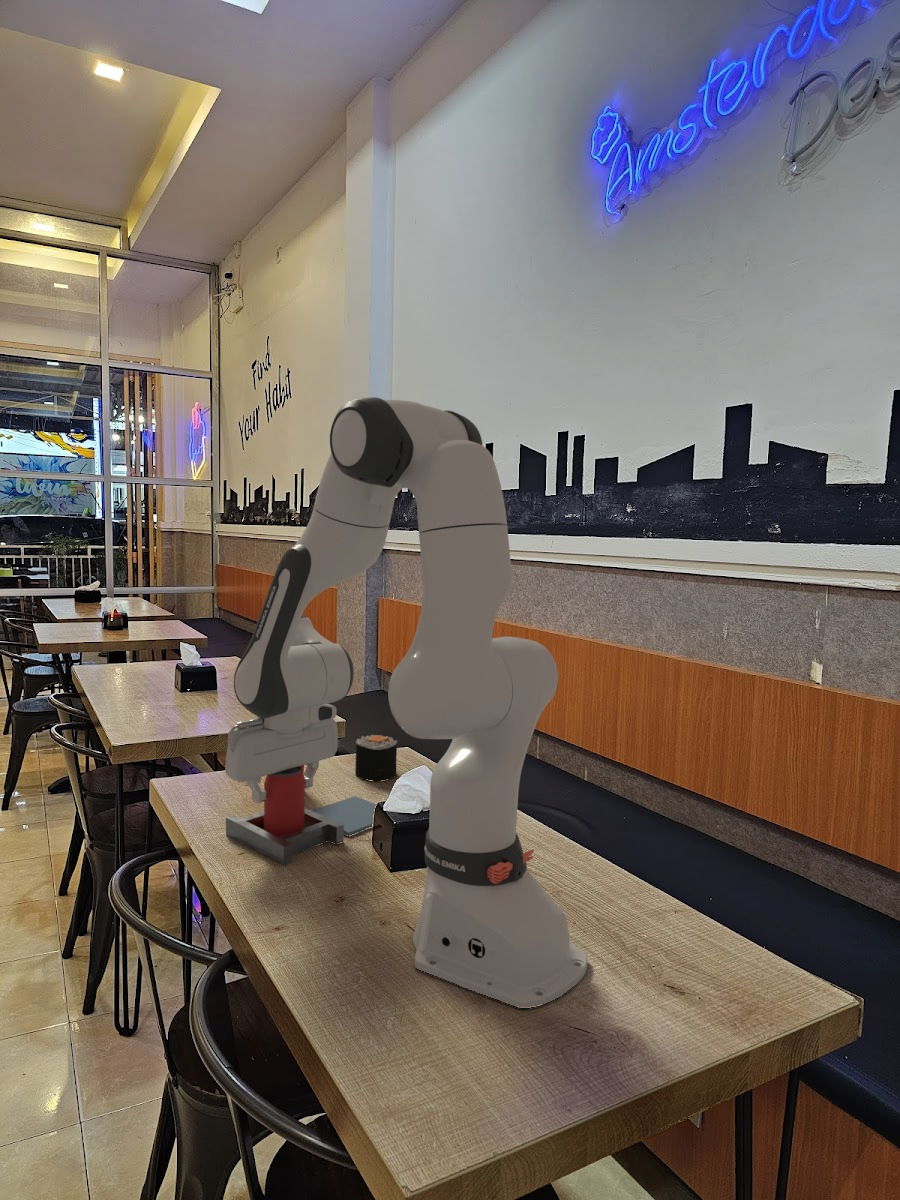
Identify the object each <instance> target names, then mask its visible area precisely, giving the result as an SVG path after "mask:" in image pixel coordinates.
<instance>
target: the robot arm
mask: <svg viewBox="0 0 900 1200" xmlns="http://www.w3.org/2000/svg"><path fill="white" fill-rule="evenodd" d="M329 431H330V433H329V445H330V446H329V448H330V454H329V457H328V460H327V462H326V464H325V467H324V469H323V471H322V475H321V478H320V480H319V484H318V488H317V491H316V495H315V501H314V505H313V509H312V513H311V515H310V518H309V519H310V520H309V521H308V523H307V525H306V528H305V529H304V531H303V533H302V534H301V536H300V538H299V539H298V540H297V541H296V543H294V545H293V546H291V548H289V549H288V550H286V551H285V553H284V554H283V556H282V557H281V559H280V560H279V563H278V565H277V568H276V571H275V573H274V575H273V578H272V580H271V583H270V585H269V589H268V592H267V594H266V597H265V599H264V602H263V605H262V608H261V611H260V614H259V616H258V620H257V621H256V625H255V628H254V631H253V634H252V636H251V639H250V641H249V643H248V646H247V648H246V650H245V651H244V653H243V655H241V656H242V657H241V658H240V659H239V662H238V664H237V666H236V669H235V671H234V676H233V689H234V693H235V694H234V695H235V696H236V697H235V698H236V699H237V700H238V702H239V703H240V704H241V706H243V708H244V709H245V710H246V711H248V712H250V713H251V714H253V715H255V716H256V718H252V719H249V720H246V721H245V720H244V721H242V720H241V721H237V722H236V724H235V725H234V726H233V727H231V729H230V730H229V731H228V734H227V750H226V757H225V764H224V765H225V769H224V771H225V774H226V775H227V777H229V779H232V780H233V781H235V782H238V783H243V782H246V784H247V785H248V787H249V789H250V790H251V796H252V797H251V799H252V802H254V803H256V804H259V803H262V802H263V803H264V801H266V797H265V796H266V791H265V790H264V789H262V788H261V787H260V785H259V784H260V783H261V782H262V777H264V776H267V775H269V774H273V773H276V772H280V771H284V770H287V769H291V768H295V767H298V766H302V765H304V766H306V768H305V769H304V774H303V775H304V779H305V790H306V789H309V788H312V787H313V785H314V777H315V775H316V772H317V771H318V769H319V767H320V766H319V765H320V761H324V760H327V759H330V758H333V757H335V755H336V753H337V751H338V747H339V746H338V745H339V744H338V743H339V742H338V741H339V740H338V739H339V738H338V737H339V735H338V733H339V732H338V725H337V724H338V723H337V721H336V720H335V718H336V716H337V711H338V710H337V707H336V706H335V705H333V704H331V703H335V702H338V701H341V700H344V699H345V697H346V696H347V695H348V694H349V692H350V690H351V688H352V685H353V682H354V675H355V674H354V664H353V660H352V658H351V656H350V654H349V653H348V651H347V650H346V649H345V648H344V647H343V646H341V645H340V644H339V643H335V642H332V641H330V640H328V639H327V638H326V637H324V636H322V634H320V633H319V632H318V631H317V630H316V629H315V628H314V624H313V623H312V621H311V619H310V618H309V617H308V616H305V615H303V613H304V611H305V610H306V608H307V606H308V605H309V604H310V602H311V601H312V600H314V598H315V597H317V596H318V595H319V594H321V593H323V592H324V591H325V590H327V589H329V588H331V587H334V586H335V585H337V584H339V583H342V582H343V581H346V580H349V579H351V578H355V577H356V576H358V575H361V574H362V573H364V572H365V571H366V570H368V569H370V568H371V567H372V566H373V565H374V564H375V563H376V562H377V560H378V559H379V557H380V555H381V554H382V551H383V549H384V546H385V544H386V540H387V536H388V532H389V528H390V523H391V519H392V514H393V509H394V503H395V500H396V497H397V495H398V494H399V493H400V492H401V490H403V489H407V490H409V492H410V493H411V494H412V495H413V497H414V499H415V504H416V510H417V525H418V537H419V547H420V548H419V549H420V562H421V563H420V564H421V576H422V577H421V578H422V598H421V601H422V602H421V608H420V613H419V617H418V618H419V620H418V623H417V626H416V630H415V633H414V636H413V640H412V641H411V645H410V647H409V648H408V650H407V652H406V654H405V655H404V656H403V658H402V659H401V660H400V661H399V663H398V664H397V665H396V667H395V668H394V669H393V671H392V673H391V676H390V679H389V683H388V690H387V691H388V692H387V693H388V695H387V696H388V697H387V698H388V704H389V708H390V711H391V714H392V717H393V718H394V720H395V722H396V724H398V726H399V727H400V728H401V729H402V731H404V732H405V734H408V735H409V736H411V737H413V738H416V739H420V740H422V739H423V740H452V741H451V742H450V745H449V747H447V748H448V749H447V750H446V752H445V753H444V755H443V756H442V757H441V758H440V759H439V761H438V762H437V764H436V765H435V767H434V768H433V771H432V774H431V777H430V787H429V788H430V789H429V790H430V792H429V821H428V823H429V824H428V825H429V827H428V830H426V833H425V845H424V862H425V865H426V874H425V875H426V878H425V885H424V892H423V897H422V902H421V907H420V913H419V917H418V919H417V920H418V921H417V923H416V927H415V929H414V932H413V936H412V940H413V941H412V942H413V945H414V948H415V951H416V952H415V955H414V963H413V966H414V965H415V966H414V968H415V969H416V968H417V969H419V970H421V971H420V972H422V971H424V972H423V973H425V972H427V973H429V974H428V975H430V974H432V975H434V976H433V977H435V976H438V977H439V978H438V977H437V978H438V979H440V978H443V979H446V980H448V981H450V982H449V983H451V982H453V983H455V984H454V985H456V984H457V985H456V986H458V985H459V987H461V988H464V989H466V988H467V990H470V991H471V990H472V991H471V992H474V991H475V992H474V993H477V994H479V993H480V994H479V995H482V994H483V995H482V996H484V995H486V996H485V997H487V996H488V998H490V997H491V998H490V999H492V998H495V999H498V1000H501V1001H503V1002H507V1003H509V1004H512V1005H514V1006H519V1007H530V1006H531V1007H532V1006H537V1005H540V1004H544V1003H547V1002H549V1001H552V1000H554V1001H556V1000H557V999H556V998H558V997H560V996H561V997H563V996H564V995H565V994H564V993H566V992H567V991H568V990H570V989H571V988H572V987H573V986H574V987H576V986H577V985H578V984H579V983H580V982H581V980H582V979H583V978H584V977H585V975H586V973H587V970H588V955H587V953H586V952H585V951H583V950H582V949H580V948H579V947H578V946H576V945H574V944H573V943H572V942H570V933H569V932H570V931H569V925H568V921H567V916H566V914H565V913H564V911H563V910H562V908H561V907H559V905H558V904H557V903H556V902H555V901H554V900H553V899H552V897H551V895H549V894H548V893H547V892H546V890H545V889H544V888H543V887H542V886H541V885H540V883H539V881H537V880H536V879H535V877H534V876H533V875H532V874H531V873H530V871H528V869H527V868H528V867H527V862H529V861H531V860H532V859H534V855H532V854H533V853H534V851H535V849H529V850H528V851H526V852H524V851H523V847H522V845H521V844H522V843H521V841H520V837H519V835H518V833H517V821H518V820H517V819H518V807H519V790H520V781H521V775H522V770H523V766H524V762H525V758H526V756H527V752H528V750H529V747H530V743H531V740H532V736H533V734H534V731H535V728H536V726H537V723H538V721H539V719H540V717H541V714H542V713H543V712H544V710H545V708H546V707H547V706H548V704H549V703H550V702H551V700H552V699H553V697H554V696H555V694H556V692H557V689H558V682H559V671H558V667H557V664H556V661H555V659H554V657H553V655H552V654H551V652H550V651H549V650H548V648H547V647H545V646H544V645H543V644H541V643H540V642H538V641H535V640H533V639H532V640H531V639H528V638H522V637H517V636H499V637H494V638H493V634H494V633H493V632H494V626H495V622H496V618H497V615H498V613H499V610H500V608H501V606H502V604H503V603H504V602H505V601H506V599H508V597H509V595H510V594H511V591H512V588H513V573H512V562H511V552H510V542H509V541H510V540H509V531H508V521H507V512H506V506H505V500H504V499H505V498H504V494H503V490H502V485H501V481H500V477H499V473H498V470H497V466H496V463H495V460H494V458H493V457H494V456H493V455H492V454H491V452H490V451H489V449H488V448H486V447H485V446H484V445H483V439H482V435H481V434H480V433H481V432H480V431H479V429H478V427H477V426H476V425H475V424H474V423H473V422H472V421H471V420H470V419H468V418H467V417H466V416H464V415H461V414H459V413H457V412H455V411H453V410H444V409H439V408H436V407H432V406H429V405H424V404H421V403H419V402H416V401H409V400H400V399H383V398H380V397H376V396H375V397H372V396H371V397H361V398H360V397H359V398H356V399H352V400H350V401H347V402H346V403H345V404H343V405H342V406H341V407H340V408H339V410H338V411H337V413H336V415H335V416H334V419H333V421H332V424H331V429H330V430H329ZM417 969H416V970H417ZM419 970H418V971H419ZM427 973H426V974H427ZM432 975H431V976H432ZM443 979H442V980H443ZM448 981H447V982H448ZM578 982H579V983H578ZM453 983H452V984H453ZM577 983H578V984H577ZM576 984H577V985H576ZM575 985H576V986H575ZM574 987H573V988H574ZM573 988H572V989H573ZM572 989H571V990H572ZM571 990H570V991H571ZM568 992H569V991H568ZM568 992H567V993H568ZM567 993H566V994H567ZM563 994H564V995H563ZM562 995H563V996H562ZM561 997H560V998H561ZM495 999H494V1000H495ZM555 999H556V1000H555ZM558 999H559V998H558ZM503 1002H502V1003H503ZM552 1002H553V1001H552Z"/></svg>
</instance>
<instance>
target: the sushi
mask: <svg viewBox="0 0 900 1200" xmlns="http://www.w3.org/2000/svg"><path fill="white" fill-rule="evenodd" d="M397 748H398V740H394V738H393V737H392V736H387V735H385V736H384V735H380V734H379V735H378V734H371V735H366V736H364V735H361V737H360V738H357V739H356V740H355V776H356V777H357V778H358V777H360V778H359V779H361V778H363V779H362V780H365V779H368V780H373V781H381V780H386V779H389V778H391V777H394V776H395V777H397V757H398V756H397V753H398V751H397V750H398V749H397ZM395 777H394V778H395ZM391 779H392V778H391ZM368 780H367V781H368ZM389 780H390V779H389ZM373 781H372V782H373Z"/></svg>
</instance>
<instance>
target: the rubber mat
mask: <svg viewBox="0 0 900 1200" xmlns="http://www.w3.org/2000/svg"><path fill="white" fill-rule="evenodd" d="M376 805H378V804H376V803H374V802H371V801H368V799H367V800H366V799H364V798H361V797H358V796H356V795H354V796H352V797H351V796H350V797H348V798H345V799H341V800H340V801H336V802H333V803H330V804H327V805H325V806H321V807H318V808H314V809H311V810H310V811H313V812H315V813H317V814H320V815H322V816H324V817H326V818H329V819H331V820H333V821H336V822H338V823H340V824H342V825H344V834H346V835H348V836H349V835H352V834H355V833H357V832H360V831H362V830H365V829H366V828H369V827H372V824H373V814H374V809H375V806H376Z"/></svg>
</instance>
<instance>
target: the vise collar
mask: <svg viewBox="0 0 900 1200" xmlns="http://www.w3.org/2000/svg"><path fill="white" fill-rule="evenodd" d="M225 835H226V836H228V837H229V838H231V839H234V840H235V841H237V842H239V843H241V844H243V845H245V846H246V847H248V848H250V849H251V850H253V851H256V852H257V853H260V854H262V855H263V856H265V857H267V858H269V859H270V860H273V861H275V862H276V863H279V864H280V865H282V866H286V865H288V864H289V865H290V864H291V863H292V859H293V858H292V857H293V854H294V855H297V854H299V853H301V851H302V852H304V851H303V850H305V851H307V850H309V849H308V848H310V849H312V848H311V847H313V846H315V847H317V846H316V845H318V844H321V843H323V844H325V843H324V842H326V841H331V842H333V843H335V844H338V843H340V842H343V843H344V840H345V839H344V836H345V835H344V825H342V824H340V823H338V822H336V821H333V820H331V819H329V818H326V817H324V816H322V815H320V814H317V813H315V812H313V811H311V810H310V809H308V808H306V807H305V820H304V828H303V829H300V830H297V831H295V832H292V833H289V834H286V835H283V836H280V837H277V836H275V835H273V834H271V833H269V832H267V831H265V830H264V810H263V811H261V812H257V813H253V814H250V815H247V816H244V817H238V816H236V815H234V814H233V815H230V816H229V815H228V816H226V817H225ZM331 842H330V843H331ZM326 843H327V842H326ZM333 843H332V844H333ZM335 844H334V845H335ZM321 845H322V844H321ZM338 845H339V844H338ZM318 846H319V845H318ZM313 848H314V847H313ZM306 849H307V850H306ZM298 852H299V853H298ZM296 853H297V854H296Z"/></svg>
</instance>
